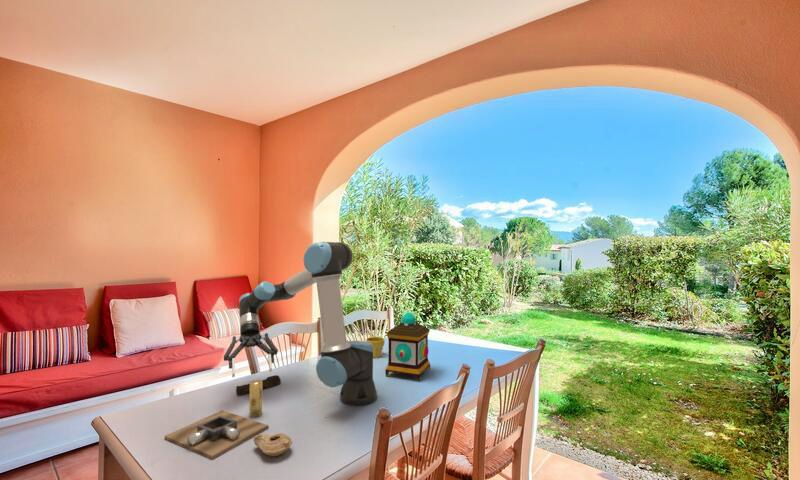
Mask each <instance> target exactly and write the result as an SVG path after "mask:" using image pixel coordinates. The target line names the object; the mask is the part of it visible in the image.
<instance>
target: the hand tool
mask: <svg viewBox="0 0 800 480" xmlns="http://www.w3.org/2000/svg"><path fill="white" fill-rule="evenodd" d="M261 381H262V389H265V388H268V389H271V388H274V387H277V386H278V385H279V386H280V385H281V383H282V380H281V378H280V375H278V374H277V375H270V376H268V377H266V379H263V380H262V379H261ZM235 388H236V389H235V391H236V392H235V393H236V395H237V396H239V397H240V396H241V395H242V396H243V395H244V394H247V393H250V383H246V384H242V385H236V387H235Z"/></svg>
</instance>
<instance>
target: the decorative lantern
mask: <svg viewBox="0 0 800 480" xmlns="http://www.w3.org/2000/svg"><path fill="white" fill-rule="evenodd" d="M416 319H417V318H416V316H414V314H413V313H412V312H405V314H403V315H402V317H401V321H400V322H399V324H398V325H396V326H394V327H392V328H391V329H390V330H388V332H386V337H387V338H388V357H387V359H388V364H387V365H386V368H385V376H386V377H389V376H390V373H397V374H404V375H411V376H415V377H416V381H417V382H419V381H420V380H421V376H422V375H423V373H424V372H425V371H430V370H431V363H430V361H429V359H428V358H429V356H428V355H429V346H428V345H429V343H428V342H429V333H430V330H431V329H430V328H429V327H427V326H426V325H422V324H420V322H418V321H417V320H416Z"/></svg>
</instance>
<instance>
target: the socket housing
mask: <svg viewBox="0 0 800 480" xmlns="http://www.w3.org/2000/svg"><path fill="white" fill-rule="evenodd" d="M219 426H221V427H220V428H218V429H216V430H214V429H215V428H217V427H219ZM224 436H225V437H227V438H230V439H233V440H236V439H238V438H239V436H240V430H238V429H237V421H236V420H233V419H230V418H227V417H224V416H221V415H220V416H218V417H216V418H214V419H212V420H209V421H207V422H205V423H203V424H200V425H198V426H197V433H195V434H193V435H190V436H189V437H188V439H187V441H188V444H189V445H190V446H193V445H195V444H197V443H199V442H201V441H203V440H205V439H208V440H211V441H213V442H215V441H217V440H218V439H220V438H222V437H224Z"/></svg>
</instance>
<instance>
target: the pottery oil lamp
mask: <svg viewBox="0 0 800 480" xmlns="http://www.w3.org/2000/svg"><path fill="white" fill-rule="evenodd" d="M253 443H254V445H255V446H256V447H258V448H259V449H260V451H262V453H264V454H265V455H267V456H269V457H277V456H280V455H281V454H282V455H283V453H284V452H286V451H287V450H288V449H290V448H291V447H292V443H293V440H292V438H291V437H290V436H289V435H287V434H285V433H282V432H281V433H275V434H274V433H273V434H267V433H265V434H263V433H262V434H257V435H256V436H254V437H253Z"/></svg>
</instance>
